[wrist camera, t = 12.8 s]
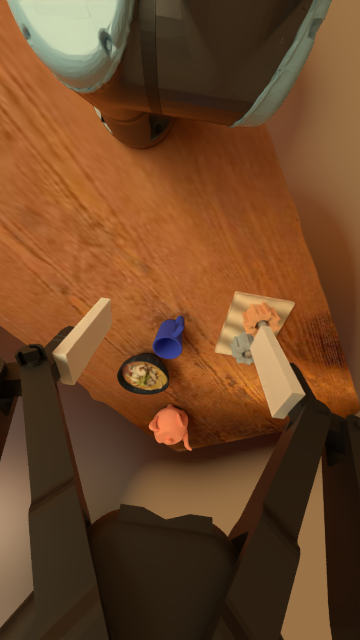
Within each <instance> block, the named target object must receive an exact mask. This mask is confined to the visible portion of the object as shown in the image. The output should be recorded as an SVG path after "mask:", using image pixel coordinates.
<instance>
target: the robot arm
mask: <svg viewBox="0 0 360 640" xmlns="http://www.w3.org/2000/svg"><path fill="white" fill-rule="evenodd" d="M331 1H332V0H7V2H8V4H9V7H10V9H11V12H12V14H13V16H14V18H15V20H16V22H17V24H18V26H19V28H20V30H21V32H22V34H23V36H24V37H25V39H26V40H27V42H28V44H29V45H30V47H31V48H32V49H33V51H34V52H35V53H36V55H37V56H38V57H39V59H40V60H41V61H42V62H43V63H44V64H45V65H46V66H47V67H48V68H49V69H50V70H51V72H52V73H53V74H54V75H55V77H56V78H57V79H58V80H59V81H61V82H62V83H63V84H64V85H66V86H67V87H68V88H69V89H71V90H74V91H75V92H76V93H77V94H79V95H80V96H81V97H83V98H84V99H85V100H87V101H88V102H89V103H90V104H92V105H93V106H94V108H95V110H96V113H97V114H98V116H99V118H100V120H101V121H102V123H103V124H104V126H105V127H106V128H107V130H108V131H109V132H110V133H111V134H112V135H113V136H114V137H115V138H117V139H118V140H119V141H121V142H123V143H124V144H126V145H128V146H131V147H134V148H148V147H151V146H154V145H155V144H157V143H159V142H160V141H161V140H162V139H163V138H164V137H165V136H166V135H167V133H168V132H169V131H170V129H171V127H172V125H173V123H174V121H175V118H176V117H179V118H185V119H190V120H196V121H202V122H208V123H214V124H220V125H226V126H227V127H232V128H233V127H237V126H244V127H257V126H260V125H262V124H264V123H265V122H266V121H268V120H269V119H270V118H271V117H272V116H273V115H274V114H275V112H276V111H277V110H278V108H279V107H280V106H281V104H282V103H283V101H284V100H285V98H286V97H287V95H288V93H289V92H290V90H291V88H292V87H293V85H294V83H295V81H296V80H297V78H298V76H299V74H300V72H301V70H302V68H303V66H304V64H305V62H306V60H307V58H308V56H309V54H310V52H311V50H312V47H313V44H314V39H315V35H316V32H317V31H318V29H319V27H320V25H321V24H322V22H323V20H324V19H325V16H326V14H327V11H328V8H329V6H330V3H331ZM111 326H112V316H111V300H110V299H107V298H101V299H100V300H99V301H98V302H97V303H96V304H95V305H94V306H93V308H92V309H91V310H90V311H89V312H88V313H87V314H86V315H85V316H84V318H83V319H82V320H81V321H80V322H79V323H78V324H77V325H76V327H72V326H68V327H66V328H64V329H62V330H61V331H60V332H59V333H58V334H57V336H55V337H54V338H53V340H51V341H50V342H49V343H48V344H47V345H46V346H45V347H43V346H42V345H40V344H29V345H26V346H23V347H22V348H20V349H18V351H17V352H16V353H15V358H16V360H17V362H14V363H5V361H4V360H3V359H2V358H0V460H1V456H2V453H3V449H4V445H5V442H6V438H7V435H8V431H9V428H10V424H11V420H12V417H13V413H14V410H15V406H16V403H17V399H18V396H22V397H23V409H24V421H25V432H26V443H27V454H28V466H29V476H30V488H31V506H30V508H29V514H28V515H29V534H30V546H31V559H32V573H33V586H34V590H33V591H32V592H31V594H30V595H29V596H28V597H27V598H26V599H25V600H24V602H23V603H22V604H21V605H20V606H19V607H18V608H17V609H16V611H15V612H14V613H13V614H12V615H11V616H10V617H9V619H8V620H7V621H6V622H5V623H4V624H3V626H2V627H1V628H0V640H284V639H283V637H282V635H281V629H282V625H283V621H284V617H285V613H286V609H287V606H288V602H289V598H290V594H291V590H292V586H293V583H294V579H295V575H296V571H297V567H298V563H299V559H300V547H299V545H298V544H297V539H298V535H299V532H300V528H301V524H302V521H303V517H304V514H305V510H306V507H307V503H308V500H309V496H310V493H311V489H312V486H313V482H314V479H315V475H316V472H317V468H318V464H319V461H320V458H321V456H322V477H323V500H324V521H325V542H326V543H325V544H326V565H327V588H328V607H329V618H330V628H331V635H332V640H360V418H359V417H357V416H355V415H348V416H347V417H346V418H343V417H341V416H338V415H336V414H334V413H332V412H331V411H330V409H329V408H328V407H327V406H326V405H325V404H324V403H323V402H321V401H319V400H317V399H316V398H315V396H314V394H313V393H312V391H311V389H310V387H309V385H308V384H307V382H306V380H305V378H304V377H303V375H302V373H301V371H300V369H299V368H298V367H297V366H296V365H295V364H294V363H289V362H288V360H287V358H286V356H285V354H284V353H283V351H282V349H281V347H280V345H279V343H278V341H277V339H276V337H275V335H274V333H273V332H272V330H271V328H270V327H269V326H264V325H261V327H260V329H259V331H258V333H257V335H256V337H255V339H254V341H253V343H252V345H251V347H250V350H251V353H252V356H253V360H254V363H255V366H256V369H257V372H258V375H259V378H260V381H261V384H262V387H263V390H264V393H265V396H266V400H267V403H268V406H269V409H270V412H271V415H272V417H275V418H281V419H284V418H285V417H286V416H287V415H289V418H290V421H289V422H288V423H287V424H286V425H285V426H284V427H283V429H284V431H283V433H282V435H281V437H280V439H279V441H278V443H277V445H276V447H275V449H274V451H273V453H272V455H271V457H270V459H269V461H268V463H267V465H266V467H265V469H264V471H263V473H262V475H261V477H260V479H259V481H258V483H257V485H256V487H255V489H254V491H253V493H252V495H251V497H250V499H249V501H248V503H247V505H246V507H245V509H244V511H243V513H242V515H241V517H240V519H239V520H238V522H237V523H236V524H235V526H234V527H233V529H232V530H231V532H230V534H229V536H228V537H227V536H226V534H225V533H224V532H223V531H222V530H221V529H220V528H218V527H217V526H215V525H214V524H212V517H206V516H199V515H192V514H189V515H185V516H180V517H176V518H171V519H164V518H162V517H160V516H158V515H156V514H155V513H153V512H151V511H149V510H147V509H146V508H144V507H138V506H131V505H125V504H121V505H120V509H118V510H114V511H111V512H109V513H107V514H105V515H103V516H102V517H101V518H99V519H98V520H96V521H95V522H94V523H93V524H92V523H91V519H90V516H89V511H88V508H87V504H86V501H85V498H84V494H83V490H82V486H81V481H80V477H79V473H78V469H77V465H76V461H75V457H74V453H73V449H72V445H71V440H70V436H69V432H68V428H67V424H66V420H65V415H64V411H63V407H62V403H61V399H60V395H59V391H58V387H57V381H58V380H59V378H61V382H62V383H65V384H71V385H74V384H75V382H76V381H77V379H78V378H79V376H80V375H81V373H82V371H83V370H84V368H85V367H86V365H87V364H88V362H89V360H90V359H91V357H92V356H93V354H94V353H95V351H96V349H97V348H98V346H99V345H100V343H101V342H102V340H103V338H104V337H105V335H106V334H107V332H108V331H109V329H110V327H111Z"/></svg>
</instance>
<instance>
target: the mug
mask: <svg viewBox="0 0 360 640" xmlns="http://www.w3.org/2000/svg"><path fill="white" fill-rule="evenodd" d="M183 329H184V317H183V316H178V317H177V319H176V321H175V320H166V321H164V322H163V323H162V324H161V326H160V328H159V331H158V333H157V335H156V338H155V340H154V343H153V350H154V352H155V353H156V354H157V355H158V356H160V357H162V358H165V359H173V358H176V357H178V356H179V355H180V354H181V352H182V331H183Z"/></svg>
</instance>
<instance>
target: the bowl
mask: <svg viewBox="0 0 360 640" xmlns="http://www.w3.org/2000/svg"><path fill="white" fill-rule="evenodd" d="M117 378H118V381H119V383H120V385H121V386H122V387H123V388H124V389H126V390H128V391H130V392H133V393H137V394H156V393H160V392H162V391H164V390H166V389H167V388H168V385H169V374H168V370H167V368H166V367H165V365H164V364H163V362H162V361H161V360H160V359H159V358H158V357H157V356H156V355H154V354H152V353H142V354H139V355H136V356H133V357H131V358H129V359H128V360H126V361H125V362H124V363H123V364H122V366H121V367H120V369H119V371H118V374H117Z"/></svg>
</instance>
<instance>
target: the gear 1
mask: <svg viewBox="0 0 360 640" xmlns="http://www.w3.org/2000/svg"><path fill="white" fill-rule="evenodd" d="M253 341H254V337H253V336H252V335H251V334H248V335H247V333H246V332H243V334H242V335H239V336H238V337H236V336H234V337H233V343H232V344H230V345H231V350H232V355H233V357H236V361H237V363H239V364H240V363H241V362H242V363H247V365H251V363H253V362H254V360H253V356H252V357H251V358H246V357H245V353H244V351H245V350H250V347H251V345H252V343H253Z"/></svg>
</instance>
